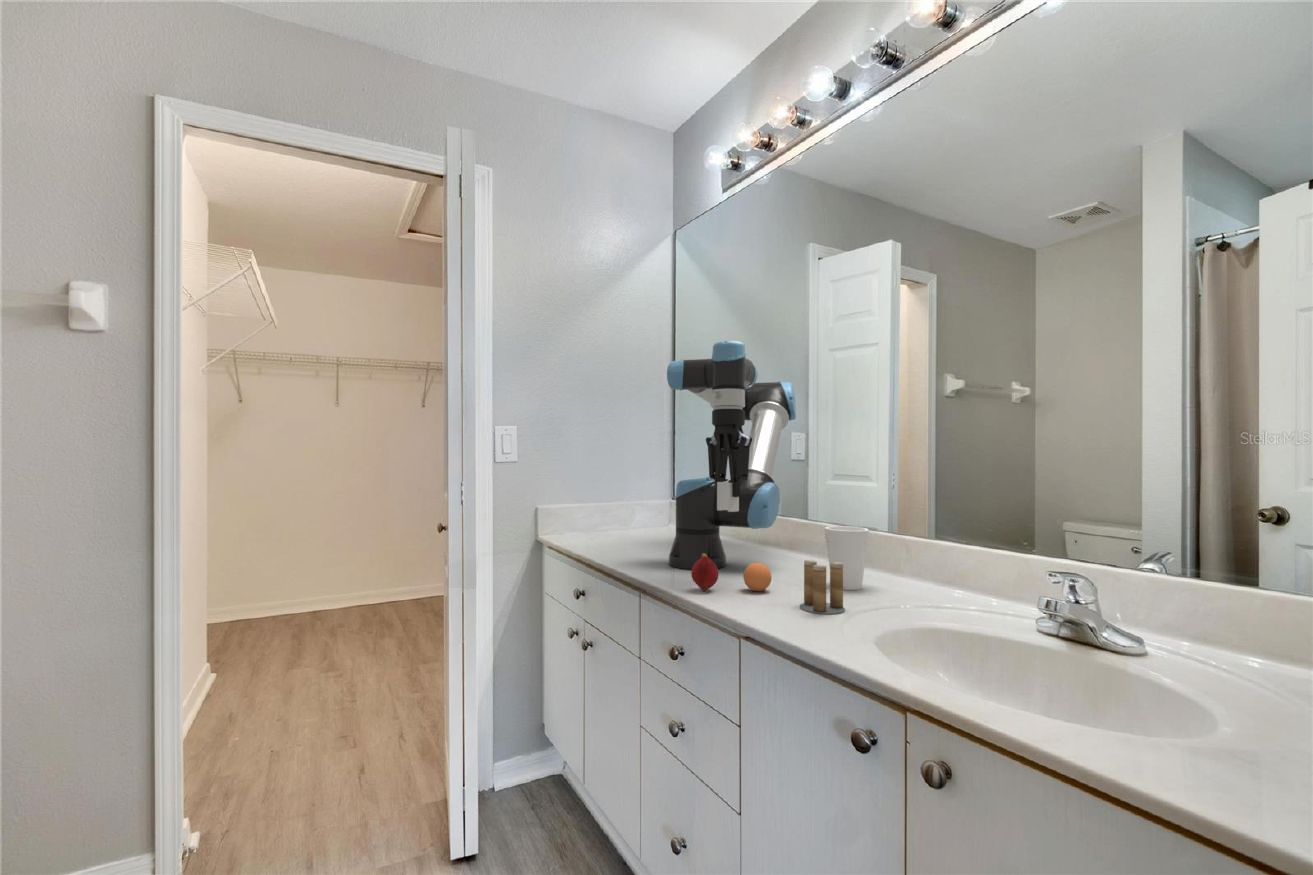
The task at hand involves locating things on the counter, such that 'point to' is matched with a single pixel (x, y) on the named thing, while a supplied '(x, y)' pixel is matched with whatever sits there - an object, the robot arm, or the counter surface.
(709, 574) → the onion
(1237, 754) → the counter surface
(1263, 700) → the counter surface
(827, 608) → the pin spot
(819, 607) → the pin
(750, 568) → the ball
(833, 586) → the pin
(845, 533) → the foam cup
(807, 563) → the pin front
